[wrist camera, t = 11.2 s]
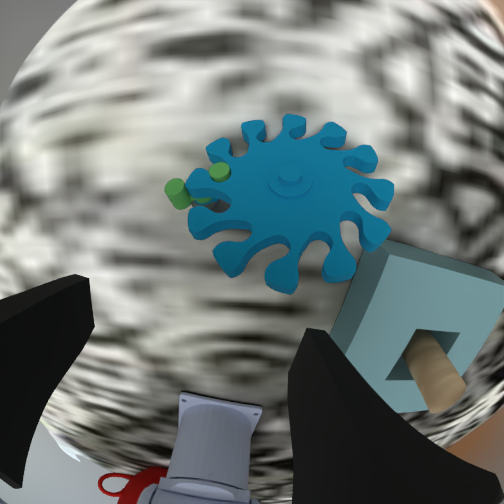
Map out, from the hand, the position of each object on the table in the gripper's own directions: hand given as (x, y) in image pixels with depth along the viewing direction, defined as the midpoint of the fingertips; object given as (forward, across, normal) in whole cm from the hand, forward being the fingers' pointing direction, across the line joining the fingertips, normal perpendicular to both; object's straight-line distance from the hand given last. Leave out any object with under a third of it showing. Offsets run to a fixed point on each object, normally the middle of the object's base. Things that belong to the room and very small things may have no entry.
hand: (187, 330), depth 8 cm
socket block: (+10, -16, +5) cm, 19 cm away
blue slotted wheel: (+10, -2, -4) cm, 11 cm away
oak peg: (+10, -16, +5) cm, 19 cm away
